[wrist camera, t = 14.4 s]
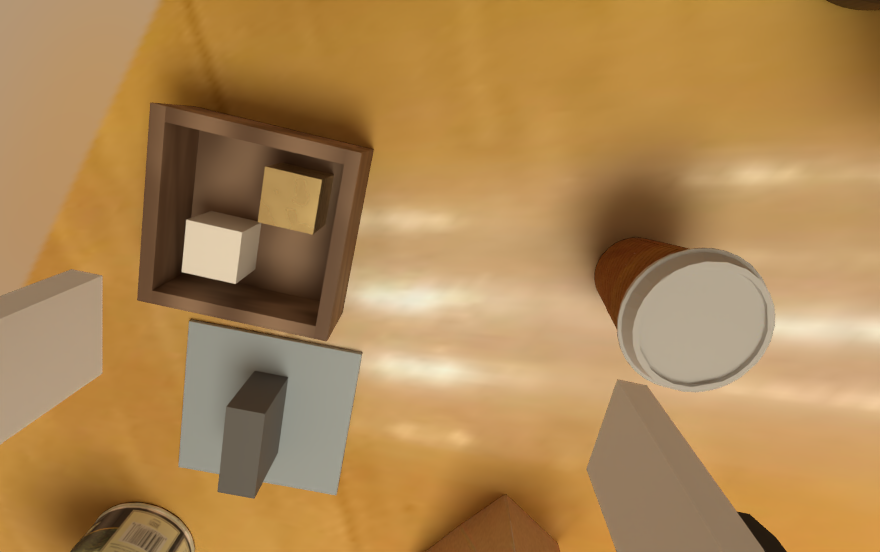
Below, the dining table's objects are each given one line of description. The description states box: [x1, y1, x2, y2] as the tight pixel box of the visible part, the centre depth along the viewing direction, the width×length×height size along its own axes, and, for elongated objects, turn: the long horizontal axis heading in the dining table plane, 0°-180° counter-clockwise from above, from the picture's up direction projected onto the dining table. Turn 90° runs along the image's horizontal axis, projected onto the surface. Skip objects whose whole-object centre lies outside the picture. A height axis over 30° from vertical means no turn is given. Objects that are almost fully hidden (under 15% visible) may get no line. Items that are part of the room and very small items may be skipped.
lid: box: [179, 319, 362, 498], centre depth 43 cm, size 15×15×7 cm
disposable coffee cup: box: [595, 237, 775, 392], centre depth 36 cm, size 10×10×12 cm
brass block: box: [258, 163, 334, 235], centre depth 37 cm, size 4×4×4 cm
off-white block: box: [182, 211, 261, 284], centre depth 38 cm, size 4×4×4 cm
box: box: [137, 103, 374, 341], centre depth 38 cm, size 14×14×6 cm
